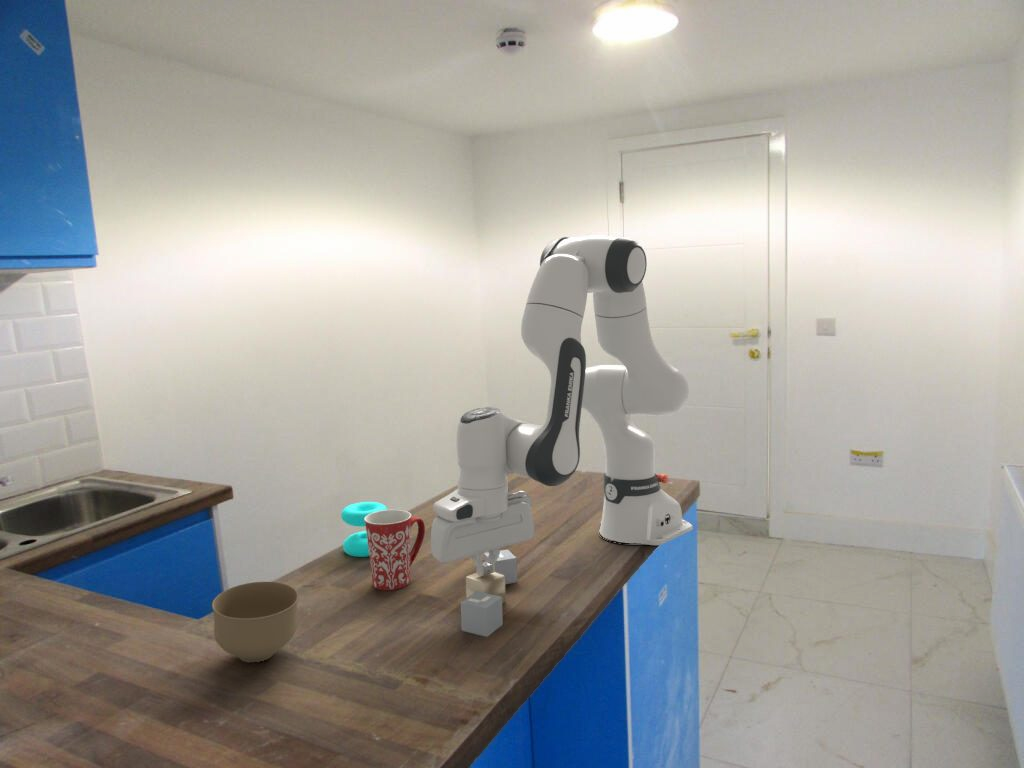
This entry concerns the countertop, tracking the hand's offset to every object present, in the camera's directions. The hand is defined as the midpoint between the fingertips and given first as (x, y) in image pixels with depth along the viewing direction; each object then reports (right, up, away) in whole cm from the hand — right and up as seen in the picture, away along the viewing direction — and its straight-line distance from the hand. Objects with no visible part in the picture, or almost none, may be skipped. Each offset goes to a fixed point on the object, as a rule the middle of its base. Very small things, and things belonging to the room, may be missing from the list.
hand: (485, 573), depth 131 cm
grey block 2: (+3, -4, +11) cm, 12 cm away
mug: (-17, -5, +11) cm, 21 cm away
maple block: (0, -5, 0) cm, 5 cm away
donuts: (-27, -3, +29) cm, 40 cm away
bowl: (-35, -9, -18) cm, 40 cm away
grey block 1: (0, -7, -9) cm, 12 cm away
